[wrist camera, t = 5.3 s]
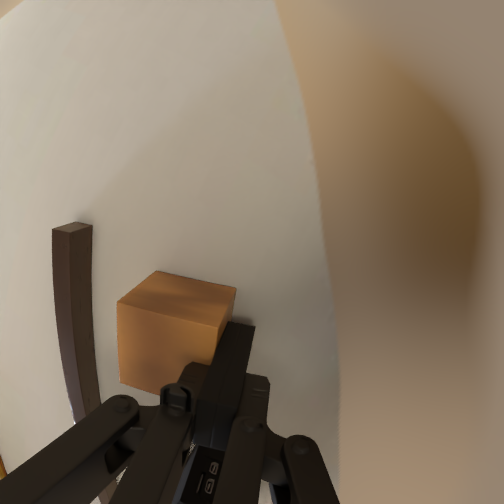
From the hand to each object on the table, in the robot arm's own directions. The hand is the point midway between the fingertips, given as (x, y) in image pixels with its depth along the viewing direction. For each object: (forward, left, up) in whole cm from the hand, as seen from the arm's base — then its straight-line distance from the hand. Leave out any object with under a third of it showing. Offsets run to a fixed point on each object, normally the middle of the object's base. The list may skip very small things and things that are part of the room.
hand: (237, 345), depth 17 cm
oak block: (+3, 0, -2) cm, 4 cm away
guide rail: (+11, +17, -2) cm, 20 cm away
